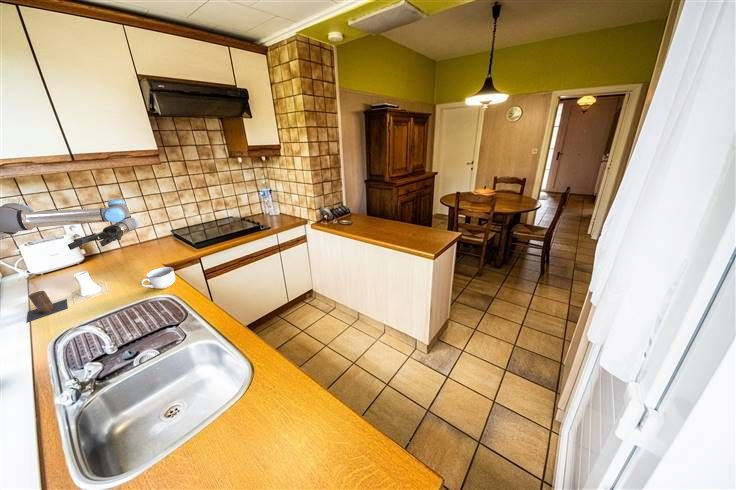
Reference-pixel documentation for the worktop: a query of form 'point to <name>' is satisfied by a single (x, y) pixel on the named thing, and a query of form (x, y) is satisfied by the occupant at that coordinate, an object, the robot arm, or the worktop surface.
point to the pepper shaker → (41, 302)
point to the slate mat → (36, 315)
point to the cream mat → (103, 290)
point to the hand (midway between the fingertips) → (85, 245)
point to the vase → (86, 284)
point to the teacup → (160, 278)
